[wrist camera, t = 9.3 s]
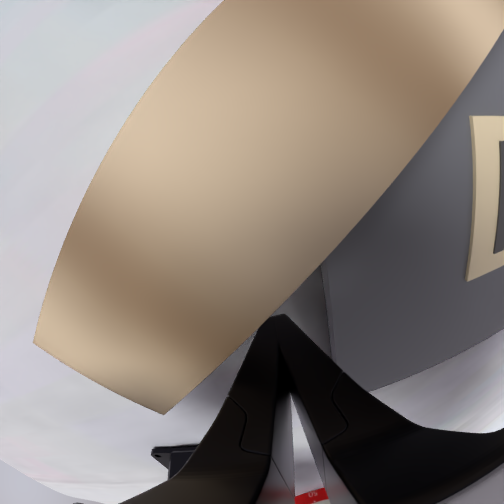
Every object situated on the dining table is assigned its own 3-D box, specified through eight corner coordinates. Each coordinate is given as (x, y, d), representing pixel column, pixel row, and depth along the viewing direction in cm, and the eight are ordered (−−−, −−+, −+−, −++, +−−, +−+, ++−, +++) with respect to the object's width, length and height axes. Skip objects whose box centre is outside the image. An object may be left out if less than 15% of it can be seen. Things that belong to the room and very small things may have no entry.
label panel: (537, 293, 13) (547, 302, 12) (334, 387, 14) (340, 405, 13) (514, -38, 3) (527, -41, 2) (221, -100, 4) (220, -118, 3)
